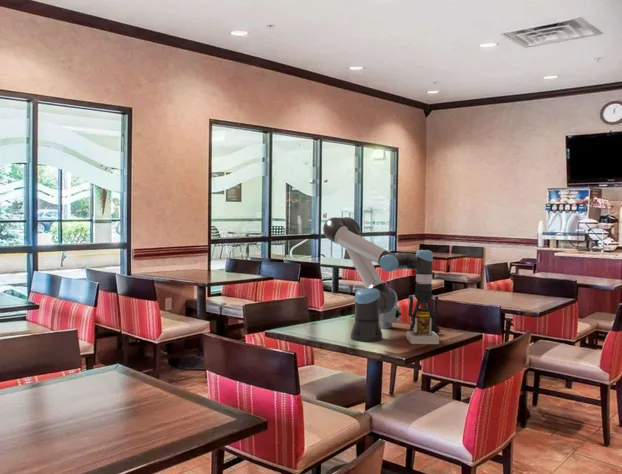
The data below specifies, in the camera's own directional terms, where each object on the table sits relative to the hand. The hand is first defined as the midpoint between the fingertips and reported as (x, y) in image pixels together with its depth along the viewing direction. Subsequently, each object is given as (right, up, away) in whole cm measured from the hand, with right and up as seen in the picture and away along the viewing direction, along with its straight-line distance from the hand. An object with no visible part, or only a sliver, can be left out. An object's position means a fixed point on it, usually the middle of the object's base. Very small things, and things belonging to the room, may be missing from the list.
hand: (422, 331), depth 277 cm
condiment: (-1, -1, 0) cm, 1 cm away
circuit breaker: (-13, -3, +32) cm, 34 cm away
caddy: (0, -4, 0) cm, 4 cm away
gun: (+5, -4, +17) cm, 18 cm away
